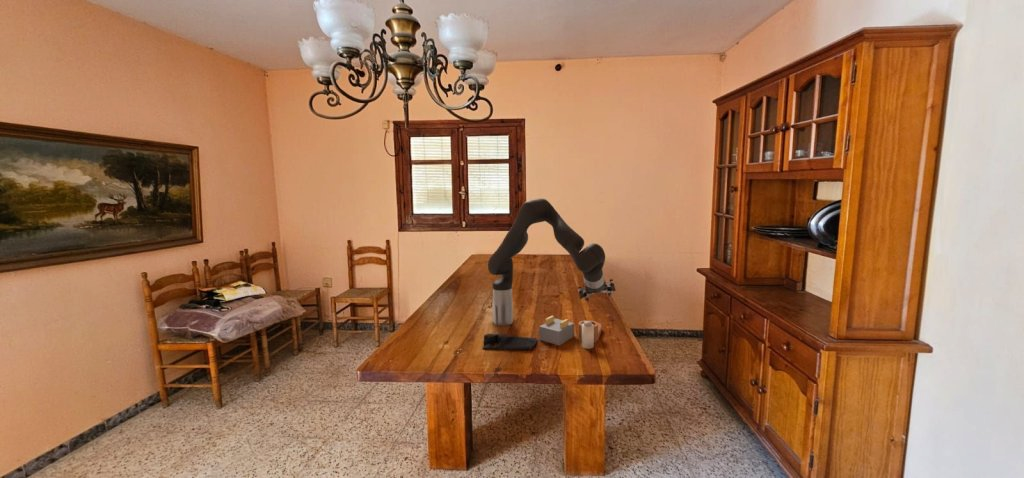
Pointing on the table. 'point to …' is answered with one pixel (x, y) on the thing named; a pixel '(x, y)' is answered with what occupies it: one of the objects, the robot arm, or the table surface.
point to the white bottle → (587, 335)
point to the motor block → (556, 330)
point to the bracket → (596, 330)
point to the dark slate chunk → (508, 342)
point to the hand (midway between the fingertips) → (598, 296)
